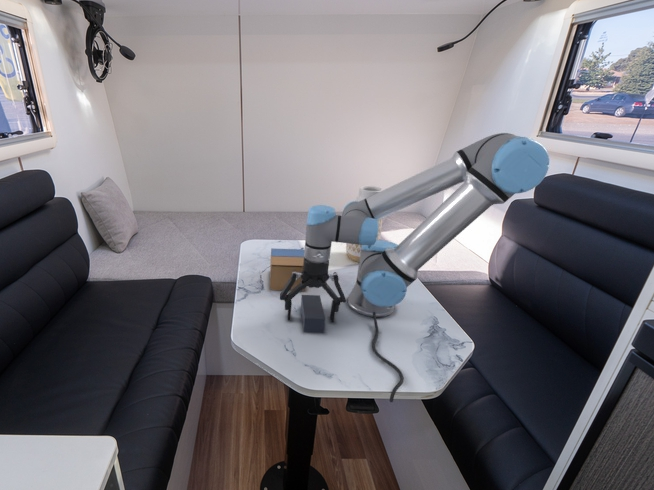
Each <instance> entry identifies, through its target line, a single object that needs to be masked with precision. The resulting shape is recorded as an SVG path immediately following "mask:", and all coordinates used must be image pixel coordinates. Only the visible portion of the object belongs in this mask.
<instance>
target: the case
mask: <svg viewBox="0 0 654 490" xmlns="http://www.w3.org/2000/svg"><path fill="white" fill-rule="evenodd" d="M300 315H301V323H302V329H303V330H302V331H303V333H315V334H318V333H319V334H324V332H325V323H326V317H325V311H324V307H323V303H322V298H321V295H320V294H319V295H317V294H301V299H300Z"/></svg>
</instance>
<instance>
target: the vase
mask: <svg viewBox="0 0 654 490" xmlns="http://www.w3.org/2000/svg"><path fill="white" fill-rule="evenodd" d="M383 190H384V189H383V188H381V187H380V186H379V187H378V186H375V185H374V186H373V185H363V186H360V187H359V190H358V195H357V196H356V198H355V200H354V201H358V202H359V201H361V200H363V199H366V198H368V197H370V196H372V195H374V194H376V193H378V192H381V191H383ZM383 219H384V217H383V218H381V219H379V220H378V223H379V228H378V236H377V240H381V237H382V228H383ZM361 248H362V245H359V244H350V243H345V249H346V250H345V251H346V254H347V256H348V259H350V260H352V261H354V262H357V263H359V261H360V254H361Z"/></svg>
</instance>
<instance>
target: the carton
mask: <svg viewBox="0 0 654 490" xmlns="http://www.w3.org/2000/svg"><path fill="white" fill-rule="evenodd" d="M304 258H305V257H279V256H271V255H270V264H269V265H270V266H269V267H270V268H269V270H270V271H269V290H270V291H282V290H283V288H284V287H285V285H286V284H287V282H288V281H289V279H290V278H291V275H292V271H296V272H298V273H302V271H303V262H304ZM301 280H302V278H301V277H299V278H298V279H297V280H295V283H294V284H293V286H292V287H291V289H290V290H289V292H290V291H291V290H292V289H293V288H295V287H296V286H297V285H298V284H299V283H300V281H301ZM306 289H307V287H306V288H305V289H302V290H301V291H300V292H306Z"/></svg>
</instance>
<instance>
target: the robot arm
mask: <svg viewBox="0 0 654 490" xmlns="http://www.w3.org/2000/svg"><path fill="white" fill-rule="evenodd" d="M549 169H550V155H549V152H548V151H547V149H546V148H545V146H544V145H542V144H541V143H539V141H536V140H534V139H533V138H530V137H526V136H521V135H516V134H513V133H509V132H500V133H494V134H491V135H489V136H486V137H483V138H481V139H479V140H477V141H475V142H473V143H470V144H469V145H467V146H465V147H463V148H461V149H459V150H457V151H455V152H454V153H453V154H452V156H451V158H449V159H446V160H444V161H441V162H439V163H438V164H436V165H433V166H432V167H429V168H427V169H425V170H423V171H421V172H419V173H417V174H415V175H413V176H410V177H408V178H406V179H404V180H402V181H400V182H398V183H395V184H393V185H391V186H389V187H387V188H385V189H383V191H381V192H378V193H376V194H374V195H372V196H370V197H368V198H366V199H363V200H361V201H359V202H358V201H355V200H353V201H350V202H348V203H347V204H346V205H345V206H344V207H343V209H342V213H341V215H339V214H336V208H334V207H333V206H330V205H325V204H316V205H312V206H311V207H310V208H309V209H308V212H307V219H306V226H305V227H306V229H305V242H304V257H305V258H304V262H303V271H302V273H298V272H296V271H292V275H291V278H290V279H289V281H288V282H287V284H286V285H285V287H284V288H283V290H280V291H281V292H280V293H279V300H280V301H284V310H285V311H287V321H291V315H292V305H293V304H292V299H294V298H295V297H296V296H297V295H298V294H299V293H301V292H302V291H301V290H302V289H305V288H306V289H307V287H308V288H311V289H312V288H315V289H319V288H322V289H323V290H324V291H325V292H326V293H327V294H328V296H329V297H330V298H331V299H332V300H331V309H330V315H329V318H330V319H329V320H330V323H334V322H335V315H336V313H338V312H339V310H340V306H341V303H344V304H345V303H347V305H348V307H349V309H351V310H352V311H353V312H355V313H357V314H359V315H362V316H365V317H370V318H373V323H374V327H375V334H374V338H373V340H372V344H371V347H372V351H373V353H374V354H375V355H376V357H377V358H379V359H380V360H381V361H382V362H384V363H385V364H387V365H388V366H390V367H391V368H393V370H395V371H396V372H397V374H398V375H399V380H398V382H397V384H396V385H394V387H393V388H392V391H391V393H390V395H389V402H390V403H393V402H394V399H395V395H396V392H397V391H398V389H400V387H401V386H402V385H403V383H404V381H405V377H404V375H403V373H402V370H400V368H399V367H398V366H396V365H395V364H394V363H393V362H391V361H389V360H388V359H386V358H385V357H383V356H382V355H381V354H380V353H379V352H378V350H377V348H376V343H377V341H378V338H379V326H378V320H377V318H385V317H388V316H390V315H392V314H393V313H394V311H395V306H396V305H398V304H399V303H401V302H402V301H403V300H404V299H405V297H406V295H407V291H408V289H407V288H408V287H409V286H410V285H411V284H413V282H415V281H416V280H417V279H418V276H419V275H418V273H419V270H420V269H421V268H422V267H423V266H424V265H426V264H427V263H428V262H429V261H430V260H432V258H434V257H435V256H436V255H437V254H438V253H439V252H440V251H442V250H443V249H444V248H445V247H446V246H447V245H449V244H450V243H451V242H452V241H453V240H454V239H455V238H456V237H457V236H459V235H460V234H461V233H462V232H463V231H464V230H465V229H466V228H467V227H469V226H470V225H471V224H473V222H475V221H476V220H477V219H478V218H479V217H480V216H481V215H482V214H484V213H485V212H486V211H487V210H488V209H489V208H491V207H492V206H494V205H504V204H505V203H506V202H508V200H510V199H511V198H512V197H513V196H514V195H516V194H522V193H527V192H529V191H531V190H533V189H535V188H536V187H537V186H538V185H540V184H541V182H542V181H544V179H545V177H546V176H547V174H548V172H549ZM459 185H460V186H459ZM456 186H459V187H458V188H457V189H456V190H455V191H454V192H453V193H451V194H450V196H448V197H447V198H446V199H445V200H444V201H443V202H442V203H441V204H440V205H439V206H437V208H436V209H435V210H434V211H432V213H430V214H429V215H428V216H427V217H426V218H425V219H424V220H423V221H421V223H420V224H419V225H417V226H416V228H414V230H412V231H411V232H410V233H409V234H408V235H407V236H406V237H405V238H404V239H403V240H402V241H401V242H400V243H399V244H397V243H396V242H392V241H388V240H382V239H380V240H377V236H378V228H379V223H378V220H379V219H381V218H383V219H384V218H385V217H388V216H390V215H393V214H394V213H397V212H399V211H402V210H404V209H406V208H408V207H411V206H413V205H415V204H418V203H420V202H422V201H424V200H426V199H429V198H432V197H433V196H436V195H438V194H441V193H443V192H445V191H447V190H450V189H452V188H454V187H456ZM332 242H333V243H342V244H346V243H350V244H359V245H362V248H361V254H360V261H359V262H358V267H357V275H356V282H355V283H354V285H353V287H352V289H351V291H350V293H349V294H348V299H346V296H345V294H344V291H343V289H342V286H341V284H340V282H339V275H338V272H337V271H334V272H333V273H329V267H330V258H331V249H332ZM299 277H301V278H302V280H301V281H300V283H299V284H298V285H297V286H296V287H295V288H293V289H292V290H291V291H289V290H290V289H291V287H292V286H293V284H294V283H295V280H297V279H298V278H299ZM329 280H331V282H333V283H334V287H335V288H336V291H337V293H338V295H339V296H338V295H337V294H336V292H335V291H334V290H333V289H332V288H331V287H330V285H329V284H328V283H327V281H329Z"/></svg>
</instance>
